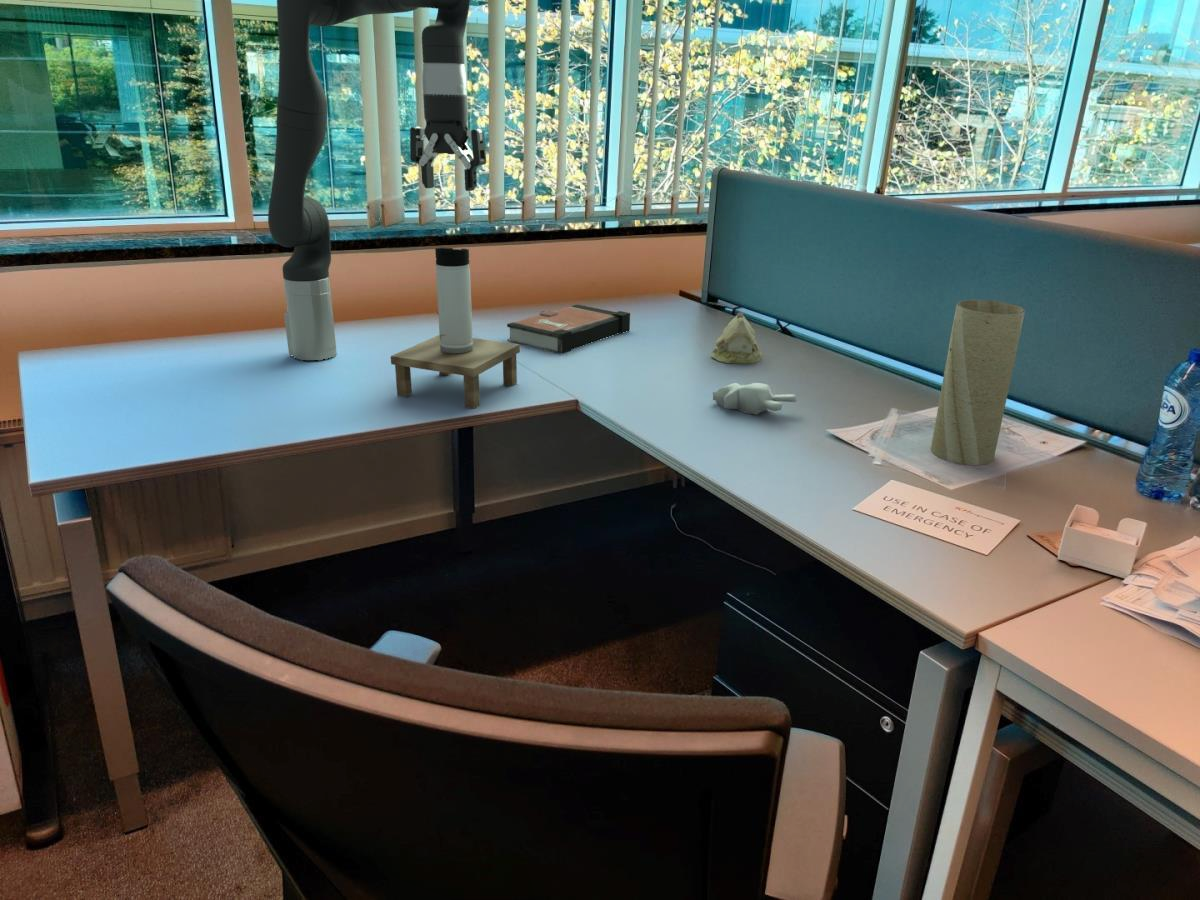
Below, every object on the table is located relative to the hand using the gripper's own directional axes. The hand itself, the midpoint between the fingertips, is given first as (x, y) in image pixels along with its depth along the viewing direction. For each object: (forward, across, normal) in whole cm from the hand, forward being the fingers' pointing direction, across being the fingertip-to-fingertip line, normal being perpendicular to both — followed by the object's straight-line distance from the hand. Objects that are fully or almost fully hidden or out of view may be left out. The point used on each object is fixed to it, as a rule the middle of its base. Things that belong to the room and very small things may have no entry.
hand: (449, 189), depth 157 cm
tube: (+38, -93, -8) cm, 101 cm away
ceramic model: (+38, -44, -48) cm, 76 cm away
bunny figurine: (+38, -56, -14) cm, 69 cm away
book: (+39, -3, -46) cm, 61 cm away
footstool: (+38, 0, 0) cm, 38 cm away
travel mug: (+30, 0, 0) cm, 30 cm away
